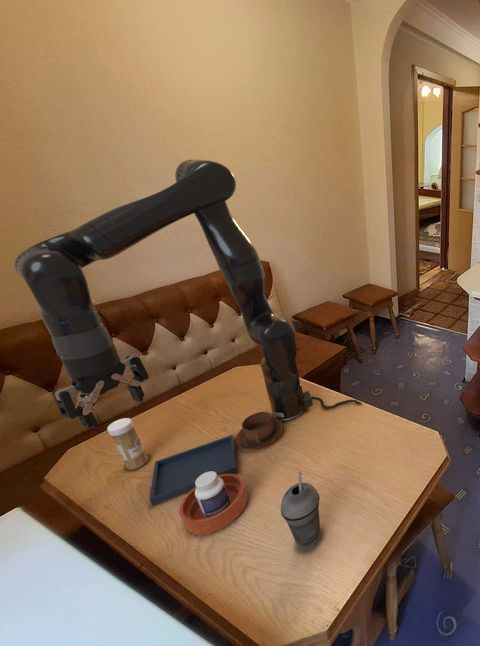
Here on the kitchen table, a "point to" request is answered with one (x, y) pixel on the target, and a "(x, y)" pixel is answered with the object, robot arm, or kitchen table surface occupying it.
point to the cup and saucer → (259, 431)
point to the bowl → (203, 525)
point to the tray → (191, 468)
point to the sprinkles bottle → (128, 443)
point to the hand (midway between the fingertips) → (117, 412)
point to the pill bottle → (211, 494)
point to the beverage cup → (302, 514)
